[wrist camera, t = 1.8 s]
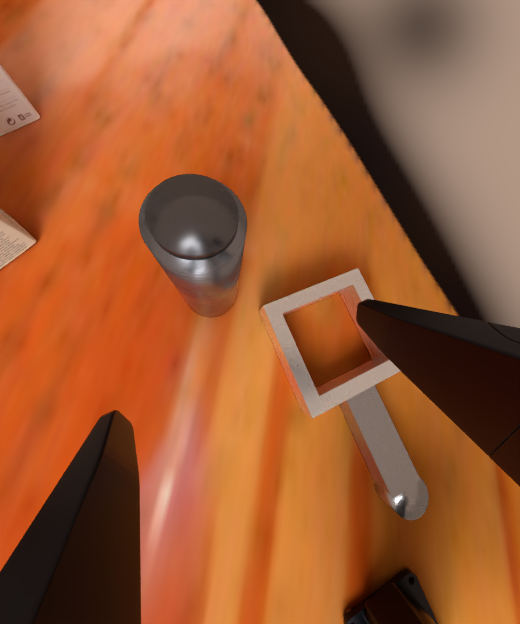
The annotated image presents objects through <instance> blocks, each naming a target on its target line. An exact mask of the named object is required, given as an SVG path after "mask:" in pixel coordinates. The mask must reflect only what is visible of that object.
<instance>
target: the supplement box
mask: <svg viewBox="0 0 520 624" xmlns="http://www.w3.org/2000/svg"><path fill="white" fill-rule="evenodd" d="M39 118H40V115H39V114H38V112H37V111H36V110H35V108H34V107H33V106H32V104H31V103H30V102H29V100H28V99H27V98H26V96H25V95H24V94H23V93H22V91H21V90H20V89H19V87H18V86H17V85H16V84H15V82H14V81H13V80H12V78H11V77H10V76H9V75H8V73H7V72H6V71H5V69H4V68H3V67H2V66H1V64H0V136H2V135H4V134H6V133H9V132H11V131H13V130H16V129H18V128H20V127H23V126H25V125H27V124H29V123H32V122H34V121H36V120H38V119H39Z"/></svg>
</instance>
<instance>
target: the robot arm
mask: <svg viewBox="0 0 520 624" xmlns="http://www.w3.org/2000/svg"><path fill="white" fill-rule="evenodd" d="M356 321H357V323H358V325H359V326H360V327H361V328H362V330H363V331H364V332H365V333H366V334H367V336H368V337H369V338H370V339H371V340H372V341H373V343H374V344H375V345H376V346H377V347H378V349H379V350H380V351H381V352H382V353H383V354H384V355H385V356H386V357H387V358H388V359H389V360H390V361H391V362H392V363H393V364H394V365H395V366H396V367H397V368H398V369H399V370H400V371H401V372H402V373H403V374H404V375H405V376H406V377H407V378H409V379H410V380H411V381H412V382H413V383H414V384H415V385H416V386H417V387H418V388H419V389H420V390H421V391H422V392H423V393H424V394H425V395H426V396H427V397H428V398H429V399H430V400H431V401H432V402H433V403H434V404H435V405H436V406H437V407H438V408H440V409H441V410H442V411H443V412H444V413H445V414H446V415H447V416H448V417H449V418H450V419H451V420H452V421H453V422H454V423H455V424H456V425H457V426H458V427H459V428H460V429H461V430H462V431H463V432H464V433H465V434H466V435H467V436H468V437H469V438H470V439H472V440H473V441H474V442H475V443H476V444H477V445H478V446H479V447H480V448H481V449H482V450H483V451H484V452H485V453H486V454H487V455H488V456H489V457H490V458H491V459H492V460H493V461H494V462H495V463H496V464H497V465H498V466H499V467H500V468H501V469H502V470H503V471H504V472H505V473H506V474H507V475H508V476H510V477H511V478H512V479H513V480H514V481H515V482H516V483H517V484H518V485H519V486H520V328H516V327H510V326H505V325H500V324H495V323H490V322H488V323H486V322H484V321H479V320H474V319H469V318H464V317H459V316H454V315H449V314H444V313H439V312H433V311H428V310H423V309H418V308H413V307H408V306H403V305H398V304H393V303H387V302H382V301H377V300H372V299H366V300H363V301H361V302H359V303H358V305H357V313H356ZM409 577H410V579H409ZM351 623H352V624H438V623H437V621H436V618H435V616H434V614H433V612H432V610H431V608H430V605H429V603H428V601H427V599H426V597H425V594H424V592H423V590H422V588H421V586H420V584H419V581H418V579H417V577H416V575H415V574H414V573H413V572H412V571H411V570H410V569H409V568H406V569H404V570H403V571H401V572H400V573H399V574H398V575H396V576H395V577H394V578H392V579H391V580H390V581H388V582H387V583H386V584H385V585H383V586H382V587H381V588H379V589H378V590H377V591H376V592H374V593H373V594H372V595H370V596H369V597H368V598H366V599H365V600H364V601H363V602H361V603H360V604H359V605H357V606H356V607H355V608H354V609H352V610H351V611H350V612H348V613H347V614H346V615H345V617H344V624H351ZM0 624H141V574H140V485H139V471H138V462H137V455H136V447H135V439H134V431H133V427H132V424H131V423H130V422H129V421H128V420H127V419H126V418H125V417H124V416H123V415H122V414H121V413H120V412H119V411H117V410H114V411H111V412H109V413H107V414H105V415H103V416H101V417H100V418H99V420H98V421H97V423H96V425H95V426H94V428H93V429H92V431H91V432H90V434H89V435H88V437H87V438H86V440H85V442H84V443H83V445H82V446H81V448H80V449H79V451H78V452H77V454H76V455H75V457H74V459H73V460H72V462H71V463H70V465H69V466H68V468H67V469H66V471H65V472H64V474H63V476H62V477H61V479H60V480H59V482H58V483H57V485H56V486H55V488H54V489H53V491H52V493H51V494H50V496H49V497H48V499H47V500H46V502H45V503H44V505H43V507H42V508H41V510H40V511H39V513H38V514H37V516H36V517H35V519H34V520H33V522H32V524H31V525H30V527H29V528H28V530H27V531H26V533H25V534H24V536H23V537H22V539H21V541H20V542H19V544H18V545H17V547H16V548H15V550H14V551H13V553H12V554H11V556H10V558H9V559H8V561H7V562H6V564H5V565H4V567H3V568H2V570H1V572H0Z"/></svg>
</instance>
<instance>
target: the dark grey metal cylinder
mask: <svg viewBox="0 0 520 624" xmlns="http://www.w3.org/2000/svg"><path fill="white" fill-rule="evenodd" d="M139 228H140V232H141V236H142V238H143V240H144V242H145V244H146V245H147V247H148V248H149V250H150V251H151V252H152V254H153V255H154V257H155V258H156V260H157V261H158V262H159V264H160V265H161V267H162V268H163V270H164V271H165V272H166V274H167V275H168V277H169V278H170V280H171V281H172V282H173V284H174V285H175V287H176V288H177V290H178V291H179V292H180V294H181V295H182V297H183V298H184V300H185V301H186V302H187V304H188V305H189V307H190V308H191V309H192V310H193V311H194V312H196V313H197V314H199V315H201V316H205V317H217V316H220V315H223V314H224V313H226V312H227V311H229V310H230V309H231V307H232V306H233V305H234V303H235V300H236V296H237V289H238V283H239V276H240V270H241V263H242V256H243V250H244V243H245V237H246V230H247V218H246V213H245V210H244V207H243V205H242V203H241V202H240V200H239V199H238V197H237V196H236V195H235V194H234V193H233V191H231V190H230V189H229V188H228V187H227V186H225V185H224V184H222V183H220V182H218V181H216V180H214V179H211V178H209V177H206V176H202V175H197V174H183V175H177V176H174V177H171V178H169V179H167V180H165V181H163V182H161V183H160V184H159V185H158V186H156V187H155V188H154V189H153V190H152V191H151V192H150V193H149V194H148V195H147V197H146V198H145V200H144V202H143V204H142V206H141V209H140V213H139Z"/></svg>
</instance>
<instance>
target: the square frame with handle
mask: <svg viewBox="0 0 520 624" xmlns="http://www.w3.org/2000/svg"><path fill="white" fill-rule="evenodd" d="M337 293H340V295H341V297H342V299H343V301H344V303H345V305H346V307H347V309H348V311H349V313H350V315H351V317H352V319H353V321H354V323H355V325H356V327H357V329H358V331H359V333H360V335H361V337H362V339H363V341H364V343H365V345H366V347H367V349H368V351H369V354H370V356H371V358H372V360H370V361H368V362H366V363H364V364H362V365H360V366H358V367H356V368H354V369H352V370H350V371H348V372H346V373H344V374H342V375H340V376H338V377H336V378H334V379H332V380H331V381H329V382H327V383H325V384H323V385H321V386H319V387H317V388H315V386H314V383H313V381H312V379H311V377H310V374H309V372H308V370H307V368H306V366H305V363H304V361H303V359H302V357H301V354H300V352H299V350H298V348H297V346H296V343H295V341H294V339H293V337H292V334H291V332H290V330H289V328H288V326H287V323H286V321H285V319H284V317H283V316H284V315H287V314H289V313H292V312H294V311H296V310H299V309H301V308H304V307H306V306H308V305H311V304H313V303H316V302H318V301H320V300H323V299H325V298H328V297H330V296H332V295H335V294H337ZM366 299H372V300H374V298H373V296H372V294H371V292H370V290H369V288H368V286H367V284H366V282H365V281H364V279H363V277H362V275H361V273H360V271H359V269H358V268H357V269H354V270H351V271H349V272H346V273H344V274H341V275H339V276H336V277H334V278H331V279H329V280H326V281H324V282H321V283H319V284H316V285H314V286H311V287H309V288H306V289H304V290H301V291H299V292H296V293H294V294H291V295H289V296H286V297H284V298H281V299H279V300H276V301H273V302H271V303H268V304H266V305H263V306H262V308H261V309H260V311H259V314H260V316H261V318H262V321H263V323H264V325H265V327H266V330H267V332H268V334H269V337H270V339H271V341H272V343H273V346H274V348H275V350H276V353H277V355H278V357H279V360H280V362H281V364H282V366H283V369H284V371H285V373H286V376H287V378H288V380H289V383H290V385H291V387H292V389H293V392H294V394H295V396H296V399H297V401H298V403H299V405H300V408H301V410H302V412H304V413H305V414H307V415H308V416H310V417H311V418H314V417H316V416H318V415H320V414H322V413H324V412H326V411H327V410H329V409H331V408H333V407H335V406H337V405H339V406H340V408H341V410H342V412H343V414H344V417H345V419H346V421H347V423H348V425H349V428H350V430H351V432H352V434H353V436H354V438H355V441H356V443H357V445H358V447H359V449H360V451H361V454H362V456H363V458H364V460H365V462H366V465H367V467H368V469H369V471H370V473H371V475H372V478H373V480H374V482H375V489H376V492H377V494H378V495H379V497H380V498H381V499H382V500H383V501H384V502H385V503H386V504H387V505H389V506H390V507H391V508H392V509H393V510H394V511H395V512H396V513H397V514H399V515H400V516H401V517H402V518H404V519H407V520H416V519H418V518H420V517H421V516H422V515H423V514H424V513H425V511H426V509H427V507H428V502H429V494H428V490H427V487H426V485H425V483H424V481H423V480H422V479H421V478H420V477H419V475H418V473H417V471H416V469H415V467H414V465H413V463H412V461H411V459H410V457H409V455H408V453H407V451H406V449H405V447H404V445H403V443H402V441H401V438H400V436H399V434H398V432H397V430H396V428H395V426H394V424H393V422H392V420H391V418H390V416H389V414H388V412H387V410H386V408H385V406H384V404H383V402H382V399H381V397H380V395H379V393H378V391H377V389H376V387H375V385H376V384H378V383H379V382H381V381H383V380H385V379H387V378H389V377H391V376H392V375H394V374H396V373H398V372H400V370H399V369H398V368H397V367H396V366H395V365H394V364H393V363H392V362H391V361H390V360H389V359H388V358H387V357H386V356H385V355H384V354H383V353H382V352H381V351H380V350H379V349H378V347H377V346H376V345H375V344H374V343H373V341H372V340H371V339H370V338H369V337H368V336H367V334H366V333H365V332H364V331H363V330H362V328H361V327H360V326H359V325H358V323H357V321H356V313H357V305H358V303H359V302H361V301H363V300H366Z"/></svg>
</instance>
